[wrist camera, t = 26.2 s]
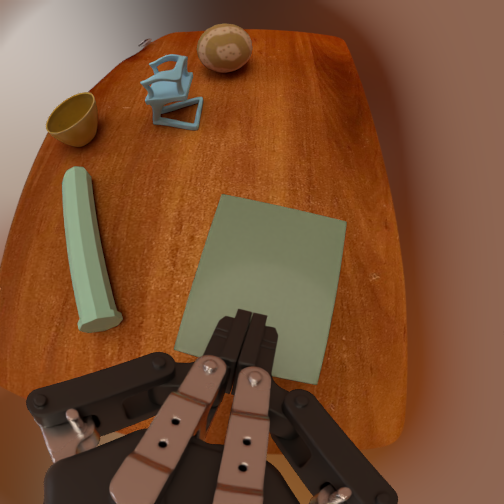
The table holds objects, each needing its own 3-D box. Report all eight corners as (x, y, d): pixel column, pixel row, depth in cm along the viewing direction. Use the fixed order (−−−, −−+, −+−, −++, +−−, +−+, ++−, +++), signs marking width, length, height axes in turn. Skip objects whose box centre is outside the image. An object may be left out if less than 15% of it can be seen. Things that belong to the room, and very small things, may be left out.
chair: (159, 104, 47) (143, 53, 36) (204, 100, 47) (194, 46, 36) (150, 134, 44) (128, 81, 33) (198, 130, 44) (185, 72, 33)
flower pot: (94, 110, 48) (81, 86, 41) (117, 129, 45) (103, 101, 39) (56, 143, 45) (40, 121, 39) (75, 166, 43) (55, 142, 36)
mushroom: (237, 30, 51) (258, 18, 39) (240, 72, 57) (260, 70, 45) (190, 33, 49) (198, 19, 37) (193, 76, 55) (202, 74, 43)
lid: (222, 197, 30) (221, 193, 29) (344, 225, 29) (346, 221, 28) (175, 349, 25) (173, 349, 24) (315, 384, 23) (317, 385, 23)
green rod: (56, 163, 36) (73, 324, 27) (91, 156, 39) (121, 312, 30) (62, 188, 41) (83, 335, 32) (94, 181, 43) (124, 325, 35)
